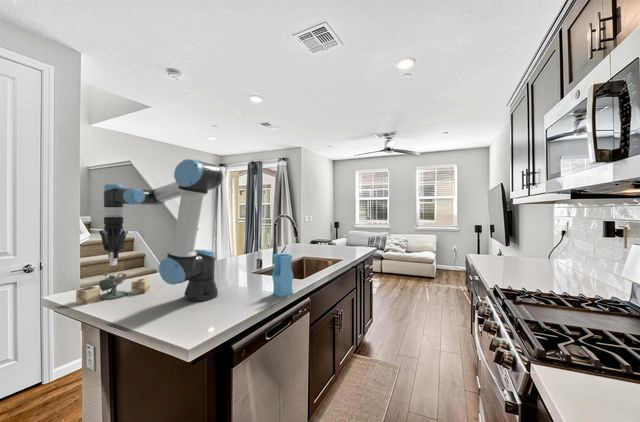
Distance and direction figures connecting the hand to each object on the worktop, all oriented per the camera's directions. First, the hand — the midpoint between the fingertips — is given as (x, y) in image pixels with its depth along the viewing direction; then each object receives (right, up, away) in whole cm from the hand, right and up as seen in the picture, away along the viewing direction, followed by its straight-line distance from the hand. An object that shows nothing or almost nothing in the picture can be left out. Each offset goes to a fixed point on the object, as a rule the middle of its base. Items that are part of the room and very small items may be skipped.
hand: (113, 265), depth 132 cm
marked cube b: (-6, -15, -8) cm, 18 cm away
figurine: (0, -16, 0) cm, 16 cm away
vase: (+81, -17, +8) cm, 83 cm away
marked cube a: (+8, -15, +8) cm, 19 cm away
